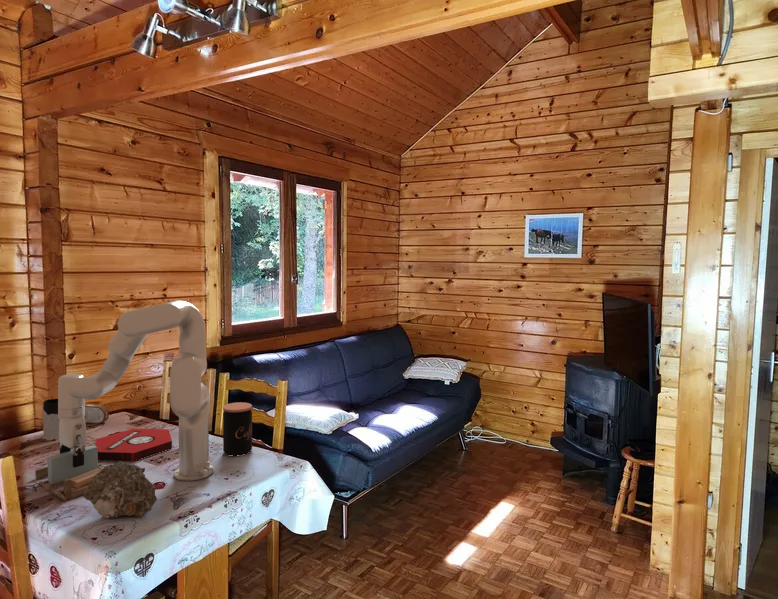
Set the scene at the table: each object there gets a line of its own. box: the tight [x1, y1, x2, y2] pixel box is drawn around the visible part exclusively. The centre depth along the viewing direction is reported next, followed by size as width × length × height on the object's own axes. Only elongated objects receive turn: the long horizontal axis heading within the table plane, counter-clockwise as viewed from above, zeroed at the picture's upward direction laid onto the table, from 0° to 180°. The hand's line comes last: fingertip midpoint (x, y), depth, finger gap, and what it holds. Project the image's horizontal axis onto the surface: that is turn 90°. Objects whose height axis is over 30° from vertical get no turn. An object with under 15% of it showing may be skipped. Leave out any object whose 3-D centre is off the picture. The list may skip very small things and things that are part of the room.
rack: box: [34, 464, 104, 502], centre depth 167 cm, size 24×18×6 cm
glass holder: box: [42, 398, 60, 441], centre depth 209 cm, size 9×14×15 cm, turn 118°
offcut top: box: [71, 468, 102, 489], centre depth 162 cm, size 4×10×2 cm, turn 156°
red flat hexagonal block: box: [94, 428, 173, 462], centre depth 197 cm, size 27×4×30 cm
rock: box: [82, 461, 158, 519], centre depth 147 cm, size 18×14×15 cm
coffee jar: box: [222, 402, 253, 457], centre depth 194 cm, size 11×11×18 cm
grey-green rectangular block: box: [47, 444, 99, 485], centre depth 169 cm, size 3×14×9 cm, turn 144°
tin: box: [84, 403, 110, 425], centre depth 226 cm, size 15×3×8 cm, turn 82°
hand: (71, 462), depth 168 cm, fingers open, 9 cm apart
